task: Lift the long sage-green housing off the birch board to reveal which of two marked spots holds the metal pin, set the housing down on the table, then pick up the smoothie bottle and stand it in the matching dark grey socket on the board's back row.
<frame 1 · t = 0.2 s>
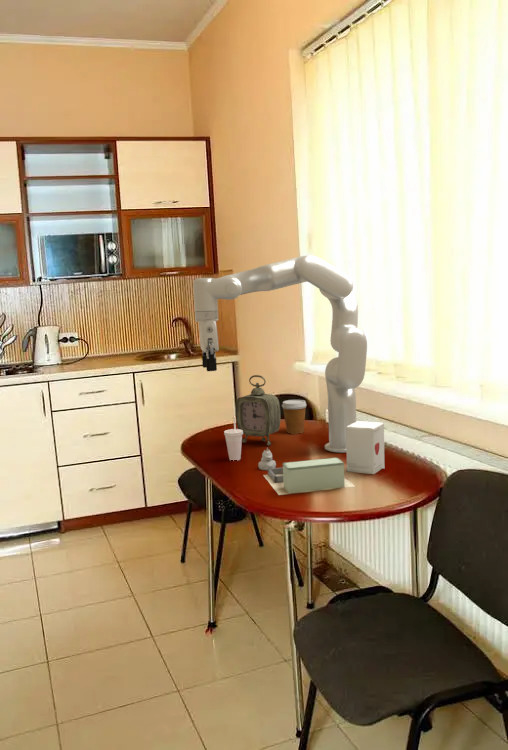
hand: (209, 369, 229), 31 cm above the table, tool pointing down, fingers open, 9 cm apart
supplement box: (366, 473, 213), on the table
housing: (313, 487, 198), point 1 cm above the table, touching board
socket 2: (318, 473, 210), resting on board
disposable coffee cup: (295, 433, 270), on the table
smoothie: (234, 459, 236), on the table
socket 1: (286, 477, 208), resting on board
tabletop clock: (260, 443, 257), on the table
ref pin: (296, 488, 197), resting on board
board: (307, 484, 204), on the table
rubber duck: (267, 472, 220), on the table
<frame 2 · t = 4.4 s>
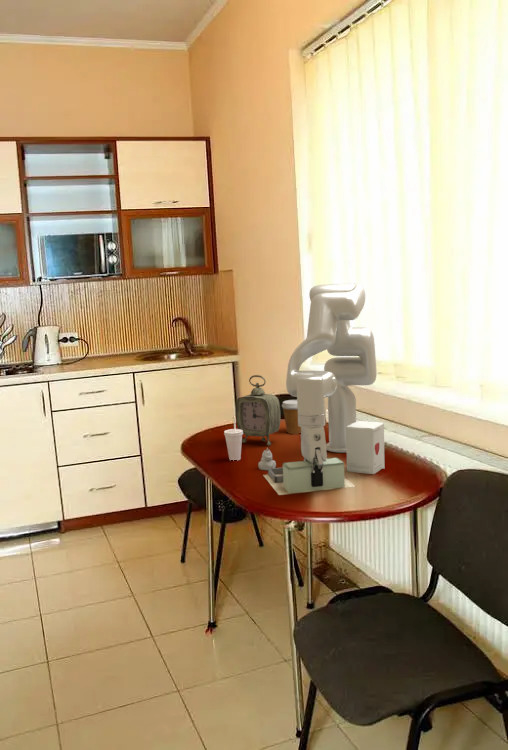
hand: (313, 482, 197), 3 cm above the table, tool pointing down, fingers closed on housing, 6 cm apart
housing: (313, 487, 198), point 1 cm above the table, touching board, gripper
everything else where it was.
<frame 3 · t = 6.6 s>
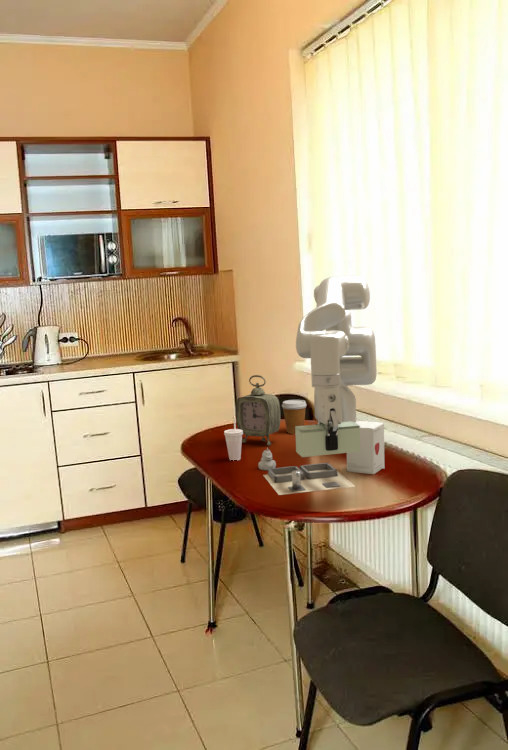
hand: (327, 446, 188), 15 cm above the table, tool pointing down, fingers closed on housing, 6 cm apart
housing: (328, 451, 189), point 13 cm above the table, touching gripper
everything else where it was.
when the fingers open (2 cm above the table, at t = 9.1 s): housing drops 1 cm, on the table.
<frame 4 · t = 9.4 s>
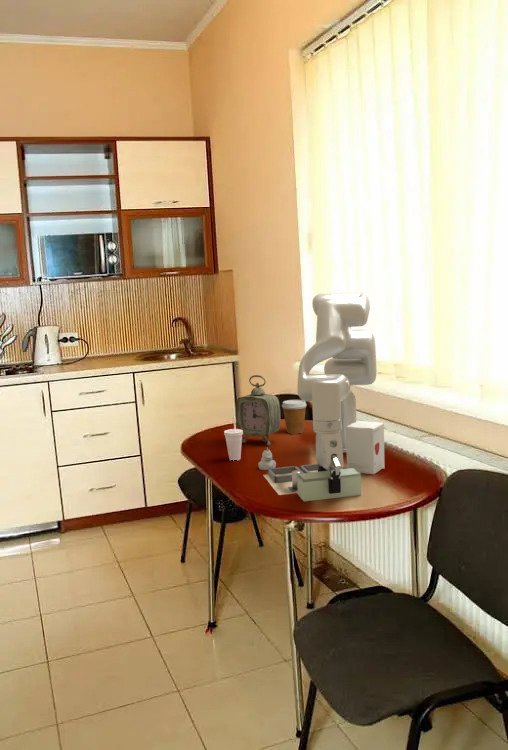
hand: (329, 487, 190), 3 cm above the table, tool pointing down, fingers open, 8 cm apart
housing: (329, 498, 191), on the table
everything else where it was.
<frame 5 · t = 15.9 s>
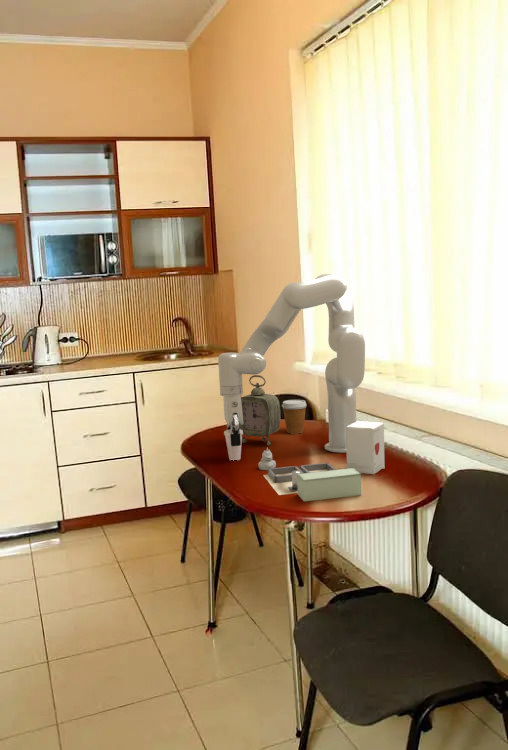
hand: (234, 442, 235), 6 cm above the table, tool pointing down, fingers closed on smoothie, 6 cm apart
smoothie: (234, 459, 236), on the table, touching gripper
everything else where it was.
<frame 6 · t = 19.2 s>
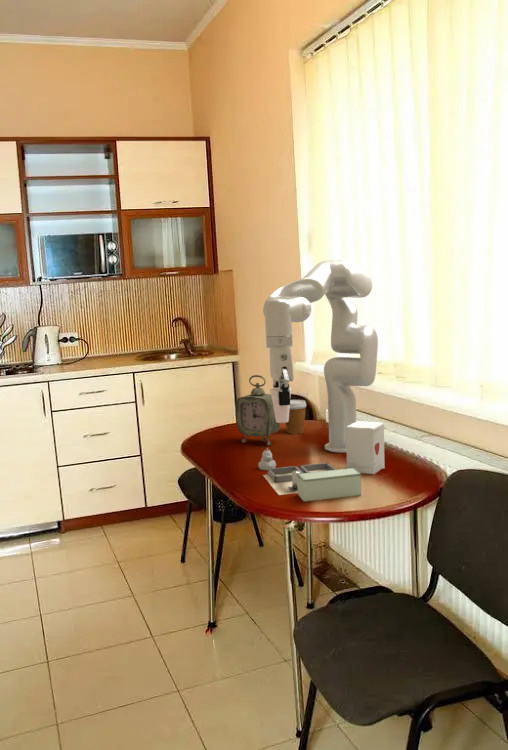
hand: (281, 402, 206), 24 cm above the table, tool pointing down, fingers closed on smoothie, 6 cm apart
smoothie: (282, 422, 207), point 18 cm above the table, touching gripper
everything else where it was.
when the fingers open (8 cm above the table, at t = 22.7 s): smoothie drops 2 cm, resting on board.
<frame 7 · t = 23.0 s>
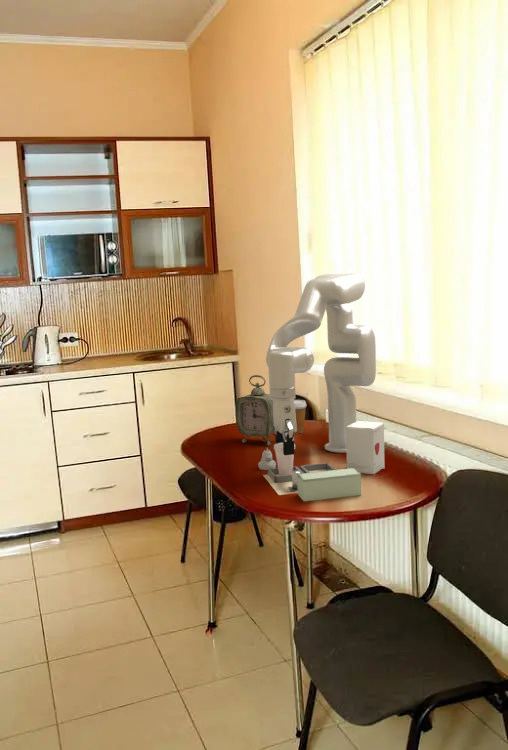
hand: (284, 450, 207), 9 cm above the table, tool pointing down, fingers open, 9 cm apart
smoothie: (285, 477, 209), point 1 cm above the table, touching board
everything else where it was.
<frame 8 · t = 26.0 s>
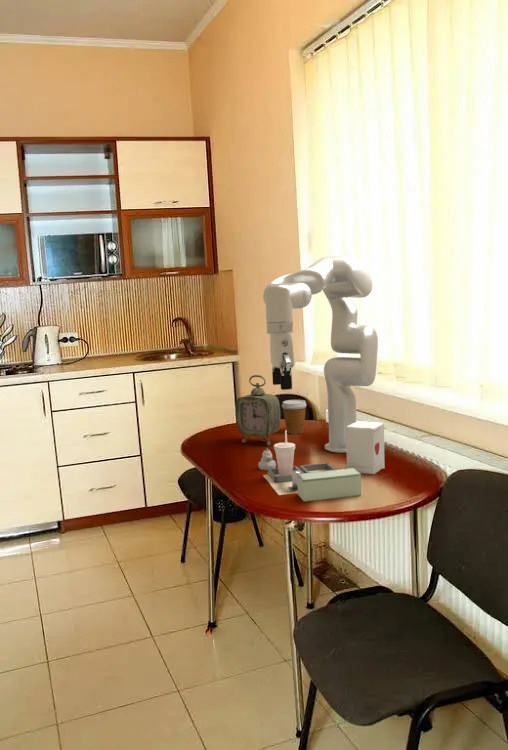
hand: (282, 386, 204), 28 cm above the table, tool pointing down, fingers open, 9 cm apart
nothing on the table moved.
at the end: smoothie 0.5 cm from the socket 1 (horizontally); smoothie tilted 0°; housing moved 8.2 cm from its start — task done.
